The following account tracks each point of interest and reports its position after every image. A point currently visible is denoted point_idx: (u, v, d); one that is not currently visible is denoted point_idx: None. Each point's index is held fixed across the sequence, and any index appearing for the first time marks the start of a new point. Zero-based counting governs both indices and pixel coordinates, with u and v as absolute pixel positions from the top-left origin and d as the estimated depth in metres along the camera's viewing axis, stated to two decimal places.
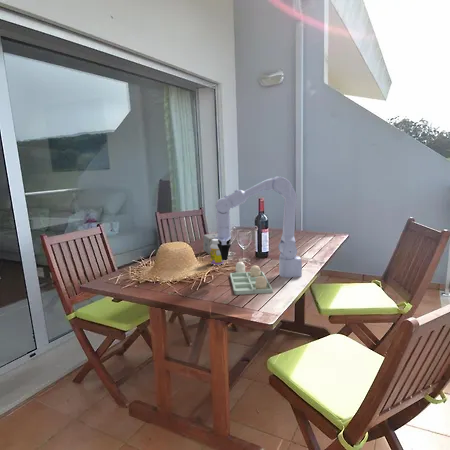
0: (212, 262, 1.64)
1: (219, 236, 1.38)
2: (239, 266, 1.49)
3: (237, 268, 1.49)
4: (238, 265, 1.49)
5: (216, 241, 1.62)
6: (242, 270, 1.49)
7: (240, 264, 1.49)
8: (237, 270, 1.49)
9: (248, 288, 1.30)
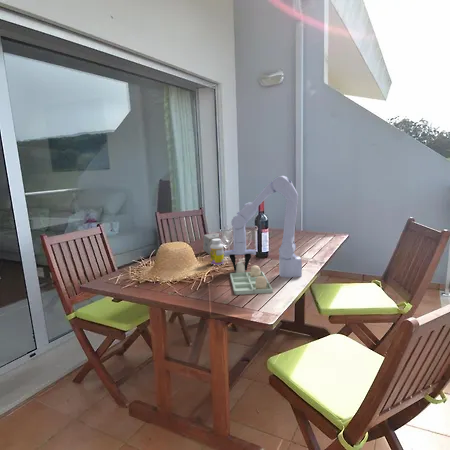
0: (212, 262, 1.64)
1: None
2: (239, 266, 1.49)
3: (237, 268, 1.49)
4: (238, 265, 1.49)
5: (216, 241, 1.62)
6: (242, 270, 1.49)
7: (240, 264, 1.49)
8: (237, 270, 1.49)
9: (248, 288, 1.30)
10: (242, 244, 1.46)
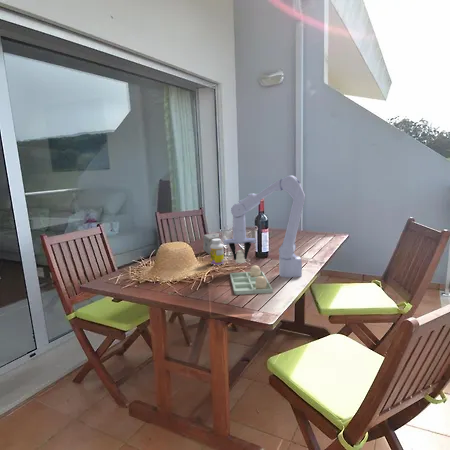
0: (212, 262, 1.64)
1: None
2: (239, 255, 1.48)
3: (237, 257, 1.48)
4: (238, 254, 1.48)
5: (216, 241, 1.62)
6: (242, 259, 1.48)
7: (240, 253, 1.48)
8: (237, 259, 1.49)
9: (248, 288, 1.30)
10: (242, 232, 1.45)
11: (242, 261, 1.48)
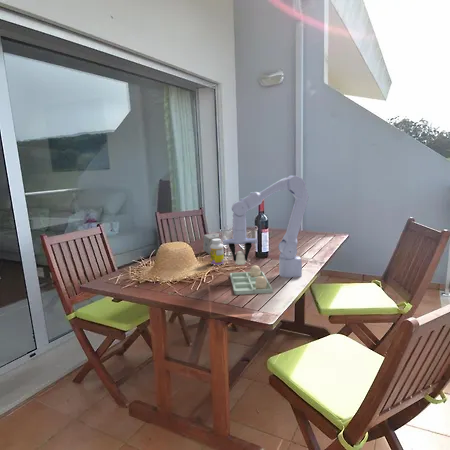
0: (212, 262, 1.64)
1: None
2: (239, 256, 1.40)
3: (237, 258, 1.41)
4: (238, 255, 1.40)
5: (216, 241, 1.62)
6: (242, 260, 1.40)
7: (240, 253, 1.40)
8: (237, 260, 1.41)
9: (248, 288, 1.30)
10: (242, 232, 1.38)
11: (242, 262, 1.41)
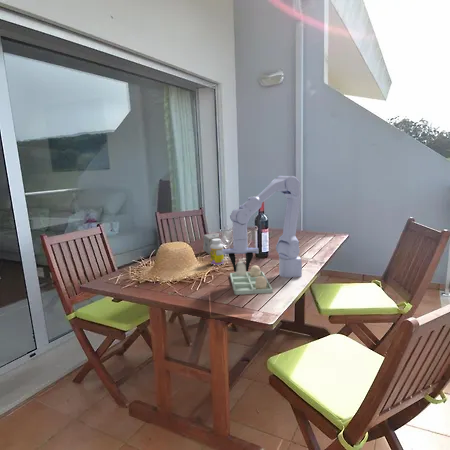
0: (212, 262, 1.64)
1: None
2: (239, 266, 1.32)
3: (237, 268, 1.32)
4: (238, 265, 1.32)
5: (216, 241, 1.62)
6: (243, 271, 1.32)
7: (241, 264, 1.32)
8: (237, 271, 1.32)
9: (248, 288, 1.30)
10: (243, 241, 1.29)
11: (243, 273, 1.32)
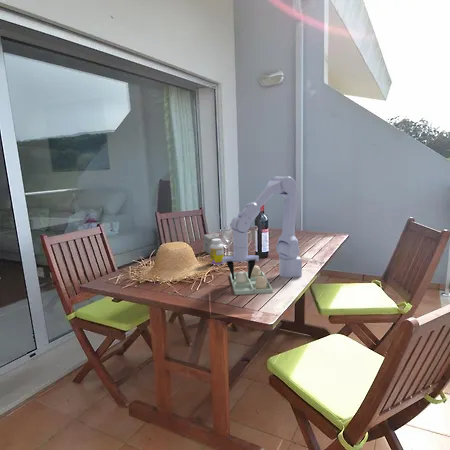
0: (212, 262, 1.64)
1: None
2: (240, 276, 1.32)
3: (238, 279, 1.33)
4: (239, 275, 1.33)
5: (216, 241, 1.62)
6: (243, 281, 1.33)
7: (241, 274, 1.33)
8: (238, 281, 1.33)
9: (248, 288, 1.30)
10: (243, 249, 1.30)
11: (243, 283, 1.33)
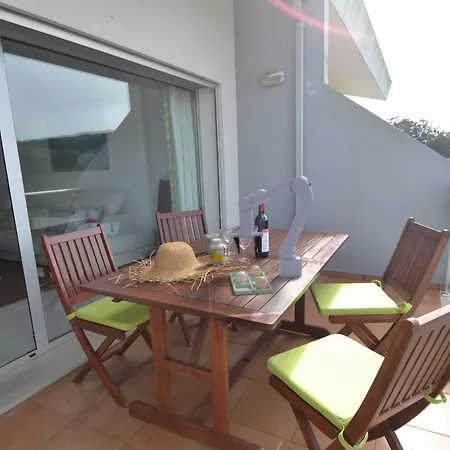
0: (212, 262, 1.64)
1: None
2: (240, 276, 1.32)
3: (238, 279, 1.33)
4: (239, 275, 1.33)
5: (216, 241, 1.62)
6: (243, 281, 1.33)
7: (241, 274, 1.33)
8: (238, 281, 1.33)
9: (248, 288, 1.30)
10: (249, 226, 1.45)
11: (243, 283, 1.33)
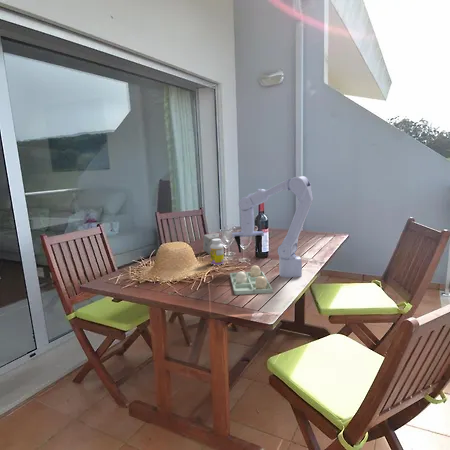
0: (212, 262, 1.64)
1: None
2: (240, 276, 1.32)
3: (238, 279, 1.33)
4: (239, 275, 1.33)
5: (216, 241, 1.62)
6: (243, 281, 1.33)
7: (241, 274, 1.33)
8: (238, 281, 1.33)
9: (248, 288, 1.30)
10: (250, 225, 1.47)
11: (243, 283, 1.33)
